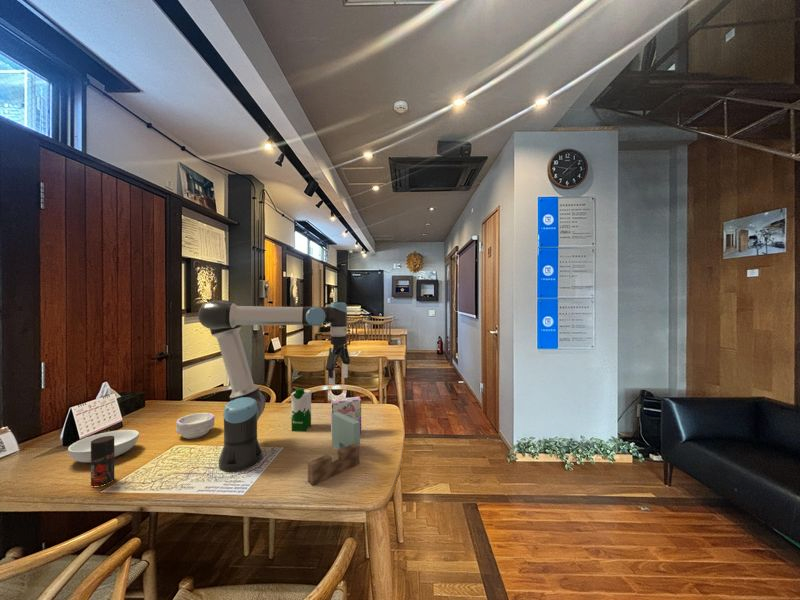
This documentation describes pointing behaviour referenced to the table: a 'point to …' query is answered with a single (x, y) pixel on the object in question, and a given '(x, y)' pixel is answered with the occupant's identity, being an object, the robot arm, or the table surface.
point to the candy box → (347, 408)
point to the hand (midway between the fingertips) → (338, 381)
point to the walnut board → (333, 464)
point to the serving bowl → (121, 437)
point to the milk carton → (301, 409)
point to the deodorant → (102, 460)
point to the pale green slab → (344, 431)
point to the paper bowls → (195, 425)
